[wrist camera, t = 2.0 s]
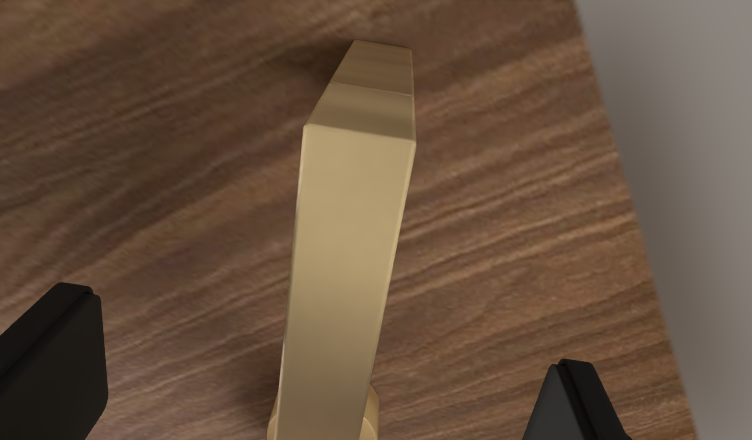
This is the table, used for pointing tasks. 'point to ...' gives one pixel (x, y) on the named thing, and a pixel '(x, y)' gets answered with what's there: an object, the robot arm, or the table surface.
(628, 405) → the table surface
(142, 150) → the table surface
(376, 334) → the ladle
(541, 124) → the table surface
